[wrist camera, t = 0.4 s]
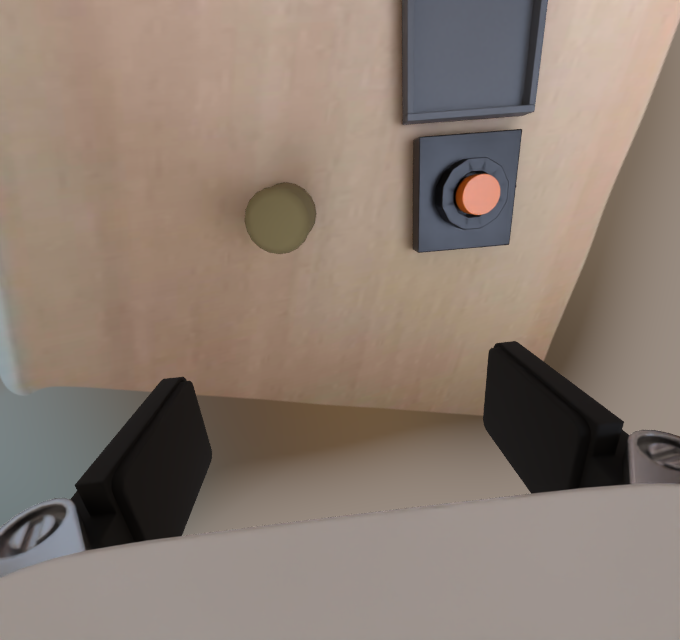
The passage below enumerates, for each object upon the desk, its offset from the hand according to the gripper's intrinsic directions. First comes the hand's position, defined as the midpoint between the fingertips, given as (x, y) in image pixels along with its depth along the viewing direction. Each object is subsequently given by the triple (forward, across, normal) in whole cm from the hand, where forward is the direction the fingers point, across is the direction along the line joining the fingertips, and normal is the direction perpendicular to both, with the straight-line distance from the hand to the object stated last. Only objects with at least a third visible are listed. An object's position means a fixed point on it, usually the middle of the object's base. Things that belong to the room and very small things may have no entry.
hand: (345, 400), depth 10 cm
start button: (+25, -15, -5) cm, 29 cm away
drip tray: (+28, -15, -19) cm, 37 cm away
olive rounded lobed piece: (+29, +4, -4) cm, 29 cm away
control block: (+29, -15, -5) cm, 33 cm away
